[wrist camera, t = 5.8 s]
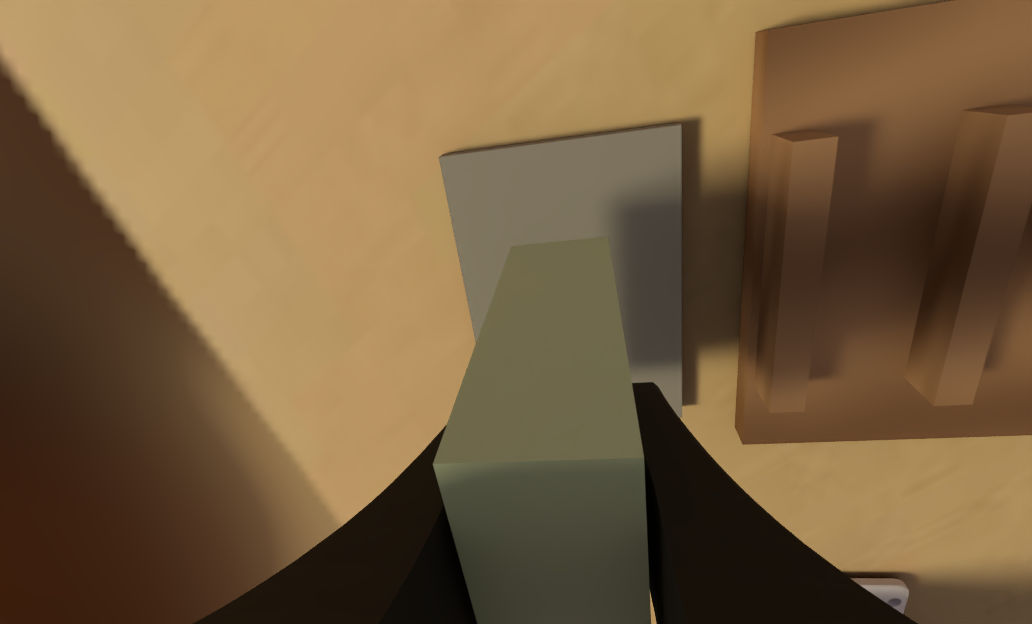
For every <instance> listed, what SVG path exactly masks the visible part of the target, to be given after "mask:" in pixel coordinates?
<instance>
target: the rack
mask: <svg viewBox="0 0 1032 624" xmlns="http://www.w3.org/2000/svg"><path fill="white" fill-rule="evenodd" d="M735 428H736V430H737V433H738V435H739V437H740V440H741V442H742V444H743V445H744V444H774V443H805V442H835V441H866V440H896V439H926V438H957V437H987V436H1018V435H1032V0H953V1H946V2H940V3H934V4H927V5H921V6H915V7H908V8H902V9H896V10H890V11H883V12H877V13H871V14H864V15H858V16H852V17H845V18H839V19H833V20H827V21H820V22H814V23H808V24H801V25H795V26H789V27H782V28H776V29H770V30H764V31H759V32H756V39H755V58H754V76H753V95H752V114H751V133H750V152H749V170H748V189H747V208H746V227H745V246H744V265H743V283H742V302H741V321H740V340H739V359H738V378H737V396H736V415H735Z"/></svg>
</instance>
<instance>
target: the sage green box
mask: <svg viewBox="0 0 1032 624" xmlns="http://www.w3.org/2000/svg"><path fill="white" fill-rule="evenodd" d="M433 467H434V470H435V474H436V478H437V481H438V485H439V488H440V492H441V495H442V499H443V503H444V506H445V510H446V513H447V517H448V521H449V524H450V528H451V531H452V535H453V538H454V542H455V546H456V549H457V553H458V556H459V560H460V563H461V567H462V571H463V574H464V578H465V581H466V585H467V589H468V592H469V596H470V599H471V603H472V606H473V610H474V614H475V617H476V621H477V624H651V613H650V589H649V565H648V540H647V516H646V492H645V468H644V454H643V448H642V442H641V436H640V430H639V424H638V418H637V412H636V405H635V399H634V393H633V387H632V381H631V375H630V369H629V363H628V357H627V351H626V344H625V338H624V332H623V326H622V320H621V314H620V308H619V302H618V296H617V290H616V284H615V277H614V271H613V265H612V259H611V253H610V247H609V241H608V236H606V237H597V238H587V239H577V240H567V241H557V242H547V243H537V244H527V245H517V246H511V248H510V251H509V254H508V256H507V259H506V262H505V265H504V268H503V270H502V273H501V276H500V279H499V281H498V284H497V287H496V290H495V293H494V295H493V298H492V301H491V304H490V306H489V309H488V312H487V315H486V318H485V320H484V323H483V326H482V329H481V331H480V334H479V337H478V340H477V343H476V345H475V348H474V351H473V354H472V356H471V359H470V362H469V365H468V368H467V370H466V373H465V376H464V379H463V381H462V384H461V387H460V390H459V393H458V395H457V398H456V401H455V404H454V406H453V409H452V412H451V415H450V418H449V420H448V423H447V426H446V429H445V432H444V434H443V437H442V440H441V443H440V445H439V448H438V451H437V454H436V457H435V459H434V462H433Z"/></svg>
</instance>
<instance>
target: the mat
mask: <svg viewBox="0 0 1032 624" xmlns="http://www.w3.org/2000/svg"><path fill="white" fill-rule="evenodd" d="M439 161H440V166H441V171H442V176H443V181H444V186H445V191H446V196H447V201H448V206H449V211H450V216H451V221H452V226H453V231H454V236H455V241H456V246H457V251H458V256H459V261H460V266H461V271H462V276H463V281H464V286H465V291H466V296H467V301H468V306H469V311H470V316H471V321H472V326H473V331H474V336H475V341H476V343H477V340H478V337H479V334H480V331H481V329H482V326H483V323H484V320H485V318H486V315H487V312H488V309H489V306H490V304H491V301H492V298H493V295H494V293H495V290H496V287H497V284H498V281H499V279H500V276H501V273H502V270H503V268H504V265H505V262H506V259H507V256H508V254H509V251H510V248H511V246H517V245H527V244H537V243H547V242H557V241H567V240H577V239H587V238H597V237H606V236H608V241H609V247H610V253H611V259H612V265H613V271H614V277H615V284H616V290H617V296H618V302H619V308H620V314H621V320H622V326H623V332H624V338H625V344H626V351H627V357H628V363H629V369H630V375H631V381H632V383H643V382H653V383H655V384H656V385H657V386H658V387H659V389H660V390H661V392H662V394H663V395H664V397H665V398H666V400H667V401H668V403H669V404H670V406H671V407H672V409H673V410H674V411H675V413H676V414H677V415H678V417H682V129H681V124H679V123H671V124H664V125H656V126H649V127H641V128H634V129H626V130H619V131H611V132H604V133H596V134H589V135H582V136H574V137H567V138H559V139H552V140H544V141H537V142H529V143H522V144H514V145H507V146H500V147H492V148H485V149H477V150H470V151H462V152H455V153H447V154H443V155H441V156H440V157H439Z"/></svg>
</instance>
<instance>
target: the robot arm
mask: <svg viewBox="0 0 1032 624" xmlns="http://www.w3.org/2000/svg"><path fill="white" fill-rule="evenodd" d="M632 387H633V393H634V399H635V405H636V412H637V418H638V424H639V430H640V436H641V442H642V448H643V454H644V468H645V492H646V516H647V540H648V565H649V588H650V593H651V597H652V602H653V607H654V611H655V617H656V622H657V624H917V623H916V622H914V621H913V620H911V619H910V618H908V617H907V616H905V615H904V610H905V607H906V603H907V600H908V596H909V590H908V588H907V586H906V585H905V583H904V582H903V581H901V580H899V579H894V578H849V577H848V576H847V575H845V574H844V573H843V572H841V571H840V570H839V569H837V568H836V567H835V566H833V565H832V564H831V563H829V562H828V561H827V560H825V559H824V558H823V557H821V556H820V555H819V554H817V553H816V552H815V551H813V550H812V549H811V548H809V547H808V546H807V545H805V544H804V543H803V542H802V541H800V540H799V539H798V538H797V537H796V536H794V535H793V534H792V533H791V532H790V531H788V530H787V529H786V528H785V527H784V526H782V525H781V524H780V523H779V522H778V521H776V520H775V519H774V518H773V517H772V516H771V515H770V514H769V513H768V512H766V511H765V510H764V509H763V508H762V507H761V506H760V505H759V504H757V503H756V502H755V501H754V500H753V499H752V498H751V497H750V496H749V495H748V494H747V493H746V492H745V491H744V490H743V489H742V488H741V487H740V486H739V485H738V484H737V483H736V482H735V481H734V480H733V479H732V478H731V477H730V476H729V475H728V474H727V473H726V472H725V471H724V470H723V469H722V468H721V467H720V466H719V465H718V464H717V462H716V461H715V460H714V459H713V458H712V457H711V456H710V455H709V454H708V452H707V451H706V450H705V449H704V448H703V447H702V445H701V444H700V443H699V442H698V441H697V439H696V438H695V437H694V436H693V435H692V433H691V432H690V431H689V430H688V429H687V427H686V426H685V425H684V423H683V422H682V421H681V420H680V418H679V417H678V415H677V414H676V413H675V411H674V410H673V409H672V407H671V406H670V404H669V403H668V401H667V400H666V398H665V397H664V395H663V394H662V392H661V390H660V389H659V387H658V386H657V385H656V384H655V383H653V382H643V383H632ZM446 426H447V425H446ZM446 426H445V427H444V428H443V429H442V431H441V432H440V433H439V434H438V435H437V436H436V437H435V438H434V439H433V441H432V442H431V443H430V444H429V445H428V446H427V447H426V448H425V450H424V451H423V452H422V453H421V454H420V455H419V456H418V457H417V458H416V459H415V460H414V461H413V462H412V463H411V464H410V465H409V466H408V467H407V468H406V469H405V470H404V471H403V472H402V473H401V474H400V475H399V476H398V477H397V478H396V479H395V480H394V481H393V482H392V483H391V484H390V485H389V486H388V487H387V488H386V489H385V490H384V491H383V492H382V493H381V494H380V495H378V496H377V497H376V498H375V499H374V500H373V501H372V502H371V503H369V504H368V505H367V506H366V507H365V508H363V509H362V510H361V511H360V512H359V513H358V514H356V515H355V516H354V517H353V518H352V519H350V520H349V521H348V522H347V523H345V524H344V525H343V526H342V527H340V528H339V529H338V530H336V531H335V532H334V533H333V534H331V535H330V536H329V537H327V538H326V539H324V540H323V541H322V542H320V543H319V544H317V545H316V546H315V547H313V548H312V549H311V550H309V551H308V552H307V553H305V554H304V555H303V556H301V557H300V558H299V559H297V560H296V561H295V562H293V563H292V564H290V565H288V566H287V567H286V568H284V569H282V570H281V571H279V572H278V573H276V574H275V575H273V576H272V577H270V578H269V579H267V580H266V581H264V582H263V583H261V584H259V585H258V586H256V587H255V588H253V589H251V590H250V591H248V592H247V593H245V594H244V595H242V596H240V597H239V598H237V599H235V600H234V601H232V602H230V603H229V604H227V605H225V606H224V607H222V608H220V609H219V610H217V611H215V612H213V613H212V614H210V615H208V616H206V617H204V618H203V619H201V620H199V621H197V622H195V623H193V624H477V621H476V617H475V614H474V610H473V606H472V603H471V599H470V596H469V592H468V589H467V585H466V581H465V578H464V574H463V571H462V567H461V563H460V560H459V556H458V553H457V549H456V546H455V542H454V538H453V535H452V531H451V528H450V524H449V521H448V517H447V513H446V510H445V506H444V503H443V499H442V495H441V492H440V488H439V485H438V481H437V478H436V474H435V470H434V467H433V462H434V459H435V457H436V454H437V451H438V448H439V445H440V443H441V440H442V437H443V434H444V432H445V429H446Z"/></svg>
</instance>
